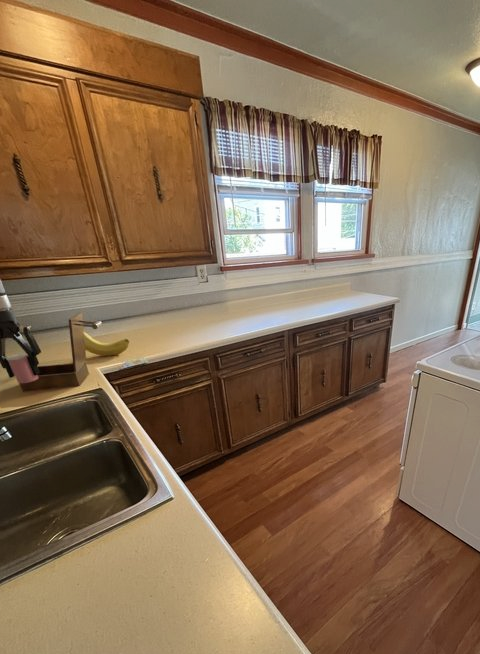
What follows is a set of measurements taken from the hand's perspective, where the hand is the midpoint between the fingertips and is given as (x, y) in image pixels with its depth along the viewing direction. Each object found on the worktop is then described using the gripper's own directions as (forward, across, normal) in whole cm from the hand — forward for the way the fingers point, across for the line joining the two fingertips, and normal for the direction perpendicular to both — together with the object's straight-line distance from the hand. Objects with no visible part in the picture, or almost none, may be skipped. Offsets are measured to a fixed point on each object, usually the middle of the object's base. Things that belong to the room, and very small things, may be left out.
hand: (25, 375), depth 116 cm
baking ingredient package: (+10, +27, +30) cm, 42 cm away
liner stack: (+2, 0, 0) cm, 2 cm away
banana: (+10, +13, +48) cm, 50 cm away
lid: (-7, +15, +13) cm, 21 cm away
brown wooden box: (+10, +3, +13) cm, 17 cm away
